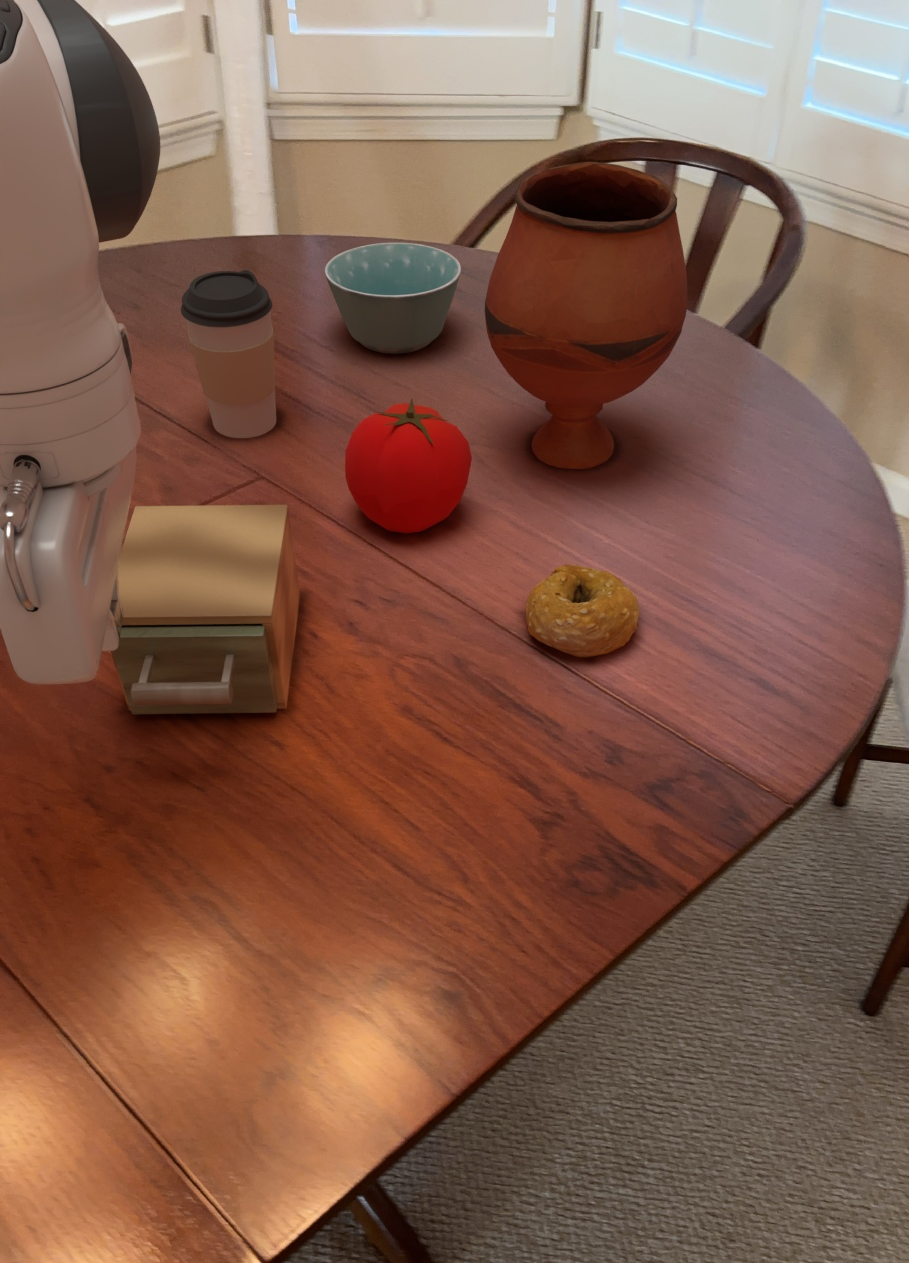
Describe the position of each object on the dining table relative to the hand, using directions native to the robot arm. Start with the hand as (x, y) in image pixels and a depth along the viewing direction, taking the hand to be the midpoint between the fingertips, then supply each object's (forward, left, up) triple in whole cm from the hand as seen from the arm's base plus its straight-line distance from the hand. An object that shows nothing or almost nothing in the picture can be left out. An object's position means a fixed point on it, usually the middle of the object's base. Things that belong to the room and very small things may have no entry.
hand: (107, 635), depth 61 cm
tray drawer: (0, +18, -19) cm, 26 cm away
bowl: (+14, +80, -20) cm, 84 cm away
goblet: (+33, +54, -20) cm, 67 cm away
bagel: (+31, +25, -20) cm, 45 cm away
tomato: (+16, +42, -20) cm, 49 cm away
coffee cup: (-2, +60, -20) cm, 63 cm away
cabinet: (0, +22, -20) cm, 30 cm away
